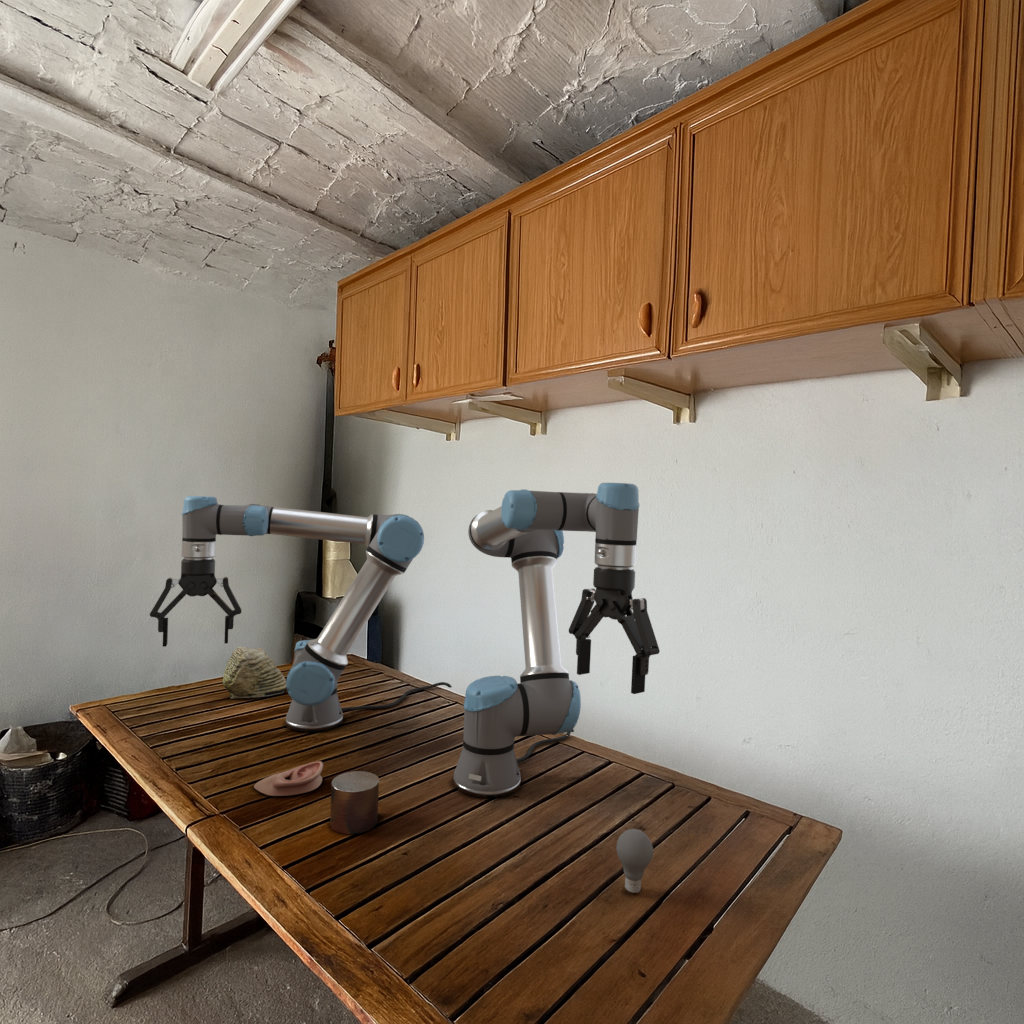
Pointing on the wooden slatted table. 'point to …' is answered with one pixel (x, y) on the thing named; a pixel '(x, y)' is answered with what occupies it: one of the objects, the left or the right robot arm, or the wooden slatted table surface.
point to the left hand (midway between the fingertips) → (196, 643)
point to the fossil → (252, 674)
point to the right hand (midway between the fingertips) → (609, 682)
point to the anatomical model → (292, 781)
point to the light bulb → (634, 857)
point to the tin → (354, 802)
